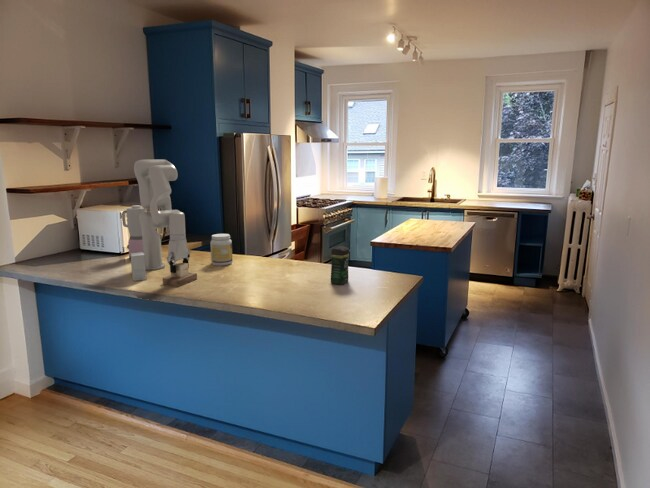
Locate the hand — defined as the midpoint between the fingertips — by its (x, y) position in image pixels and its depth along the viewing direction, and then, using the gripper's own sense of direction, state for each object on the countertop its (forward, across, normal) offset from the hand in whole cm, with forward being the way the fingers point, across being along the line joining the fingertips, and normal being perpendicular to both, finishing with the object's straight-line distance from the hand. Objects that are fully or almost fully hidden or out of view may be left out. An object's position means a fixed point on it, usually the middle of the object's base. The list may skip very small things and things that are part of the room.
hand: (179, 270), depth 240 cm
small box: (+6, +4, -23) cm, 24 cm away
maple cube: (+3, 0, 0) cm, 3 cm away
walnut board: (+6, 0, 0) cm, 6 cm away
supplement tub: (+6, -40, -2) cm, 41 cm away
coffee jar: (+6, -30, +75) cm, 81 cm away
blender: (+6, -32, -57) cm, 66 cm away
